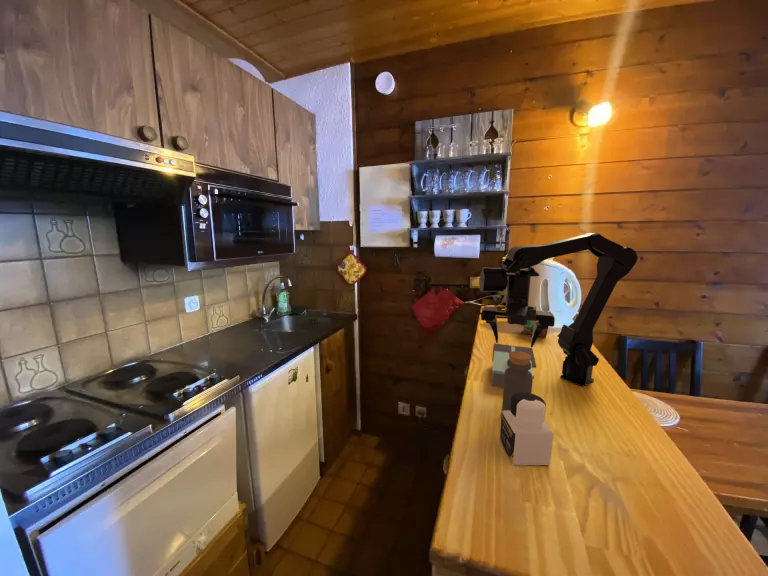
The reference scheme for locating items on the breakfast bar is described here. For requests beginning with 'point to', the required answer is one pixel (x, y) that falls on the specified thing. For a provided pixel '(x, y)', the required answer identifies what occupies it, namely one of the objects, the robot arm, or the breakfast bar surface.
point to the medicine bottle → (526, 431)
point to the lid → (504, 362)
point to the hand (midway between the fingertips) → (514, 344)
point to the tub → (500, 380)
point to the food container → (529, 329)
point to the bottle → (516, 376)
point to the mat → (517, 348)
